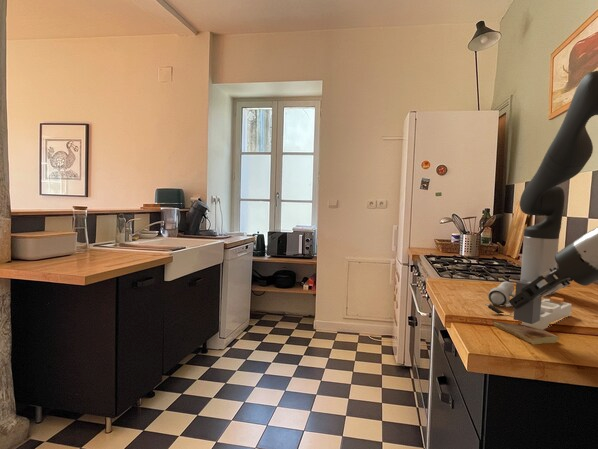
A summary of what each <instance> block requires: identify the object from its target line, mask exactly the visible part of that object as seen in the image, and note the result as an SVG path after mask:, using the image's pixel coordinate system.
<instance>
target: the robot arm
mask: <svg viewBox="0 0 598 449" xmlns="http://www.w3.org/2000/svg"><path fill="white" fill-rule="evenodd" d="M572 96H573V97H572V99H571V101H570V104H569V107H568V108H567V111H566V113H565V116H564V118H563V121H562V124H561V126H560V127H559V129H558V131H557V133H556V135H555V137H554V138H553V139H552V142H551V143H550V145H549V147H548V149H547V150H546V152H545V155H544V157H543V159H542V160H541V163H540V165H539V167H538V168H537V170H536V172H535V174H534V176H532V178H531V179H530V181H529V182H528V184H527V185H526V186H525V187H524V189H523V191H522V194H521V195H520V200H519V207H520V208H519V209H520V210H521V212H522V213H523V214H525V215H527V216H528V215H529V216H543V217H544V216H545V217H544V219H543V220H542V221H541V222H539V223H535V224H534V225H530V226H526V227H525V228H524V230H523V242H522V243H523V244H522V255H521V269H520V271H521V272H520V280H519V281H522V280H528V281H532V282H531V283H530V284H529V285H527V286H526V287H525V288H522V290H521V293H519V294H518V295H516V296H515V297H512V298H510V300H509V302H508V304H509V303H510V304H511V305H512V306H511V307H512V308H513V310H514V309H518V308H520V307H522V306H523V305H525V304H526V303H528V302H530V301H533V300H535V299H536V298H537V297H539V296H541V295H542V298H543V297H547V296H548V295H549V296H550V295H554V294H555V293H556V292H558V291H559V290H561V289H564V288H565V287H568V286H570V285H571V284H572V283H571V282H574V283H577V285H580V286H585V287H586V286H589V285H591V284H593V283H595V282H596V281H598V226H597V227H595V228H593V229H592V230H589V231H588V232H586V233H584V234H583V235H581V236H580V237H578V238H577V239H576V240H574V241H572V242H571V243H569V244H568V245H567V246H565V247H564V248H562V249H560V250H559V244H560V243H559V241H560V234H561V231H562V230H561V229H562V221H563V213H564V208H565V207H564V206H565V202H566V201H565V198H566V196H565V195H566V194H565V191H564V189H563V188H562V187H561V186H559V185H561V184H563V183H565V182H567V181H569V180H571V179H572V178H574V177H575V176H578V175H579V173H580V172H582V171H583V169H584V167H585V166H586V164H587V163H588V162H589V160H590V159H591V157H592V155H593V150H594V147H593V142H592V139H591V137H590V135H589V133H588V130H587V127H586V126H587V124H588V122H589V120H590V119H591V118H593V117H595V116H598V70H594V71H590V72H588V73H586V74H585V75H584V76H583V77H582V78H581V80H580V82H579V83H578V85H577V87H576V89H575V91H574V94H573V95H572ZM530 289H531V290H532V291H533V292H534V295H533V294H532V293H531V291H530Z"/></svg>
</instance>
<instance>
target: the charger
mask: <svg viewBox="0 0 598 449" xmlns="http://www.w3.org/2000/svg"><path fill="white" fill-rule="evenodd" d="M515 282H516V283H515V293H514V294H515V296H516V295H518V294H519V293H521V290H522V288H525V287H526V286H527V285H529V284H530V283H531V282H532V281H528V280H522V281H520V280H519V281H515ZM530 291H531V293H532V294H533V295H534V292H533V291H532V290H531V289H530ZM541 300H543V297H542V295H541V296H539V297H537V298H536V299H535V300H533V301H530V302H528V303H526V304H525V305H523V306H522V307H520V308H518V309H514V308H513V312H514V313H513V320H514V321H515V320H518V321H522V322H525V323H529V324H533V323H536V322H538V321H540V311H541Z"/></svg>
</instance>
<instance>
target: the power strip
mask: <svg viewBox="0 0 598 449" xmlns="http://www.w3.org/2000/svg"><path fill="white" fill-rule="evenodd" d="M572 305H573V304H572V303H569V302H565V301H564V298H562V297H556V296H551V297H549V298H544V299H541V311H540V321H538V322H536V323H533V324H529V323H525V322H522V324H521V326H526V327H531V328H536V329H541V330H546V329H547V328H549V327H550V326H549V324H550V323H551V322H554V321H556V320H559V319H561V318H563V317H566V316H569V315H571V314H572ZM571 316H572V315H571ZM569 317H570V316H569ZM548 326H549V327H548Z"/></svg>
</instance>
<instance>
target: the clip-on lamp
mask: <svg viewBox="0 0 598 449" xmlns="http://www.w3.org/2000/svg"><path fill="white" fill-rule="evenodd" d="M514 291H515V287H514V284H513V283H511V281H502V282H501V283H499V285H498V286H497V287H496V286H495V287H493V288H492V289H490V291H489V292H488V294H487V295H488V296H487V298H488V301H489V302H490V303H491V304H487V303H484V305H485V306H487V308H488V309H490V310H491V311H493V312H494V313H496V314H497V313H505V312H504V311H502V310H501V309H499V308H498V307H497V306H499V305H502V306H501V307H506V308H507V307H508V308H509V307H513V306H512V305H511V304H510V303H509V300H510V299H511V297H512V298H513V297H515V293H514ZM496 305H497V306H496ZM510 314H512V315H514V311H513V312H512V313H510Z"/></svg>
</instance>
